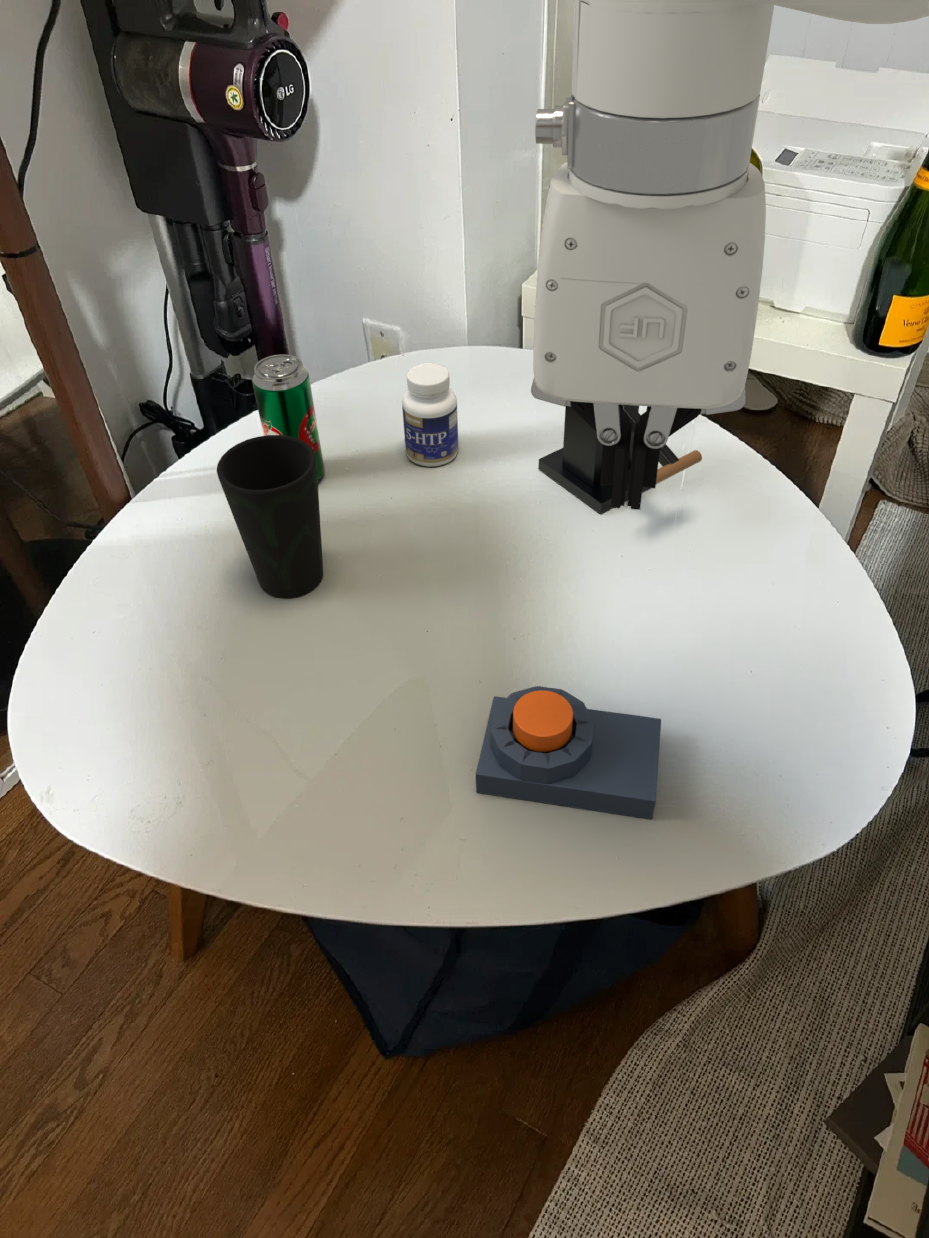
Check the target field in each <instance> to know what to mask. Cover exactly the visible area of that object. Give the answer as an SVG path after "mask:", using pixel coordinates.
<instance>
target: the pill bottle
mask: <svg viewBox="0 0 929 1238" xmlns="http://www.w3.org/2000/svg"><path fill="white" fill-rule="evenodd" d="M406 381H407V390H406V391H405V392H404V394H403V395H402V398H401V405H402V407H401V408H402V420H403V434H404V447H405V455H406V457H407V458H408V459H409V460H410V461H411V462H413V463H414V464H416V465H419V466H422V467H439V466H443V465H446V464H448V463H450V462H452V461H453V460H454V459H456V456H457V455H458V452H459V425H458V424H459V423H458V422H459V421H458V420H459V419H458V400H457V399H458V398H457V395H456V393H455V392H454V390H453V389H452V388H451V385H450V384H451V380H450V372H449V369H448V368H447V367H445V366H444V365H441V364H438V363H433V362H426V363H421V364H417V365H415V366H412V367H411V368H410V369H409V370H408V371H407V374H406Z"/></svg>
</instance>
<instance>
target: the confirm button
mask: <svg viewBox="0 0 929 1238" xmlns="http://www.w3.org/2000/svg"><path fill="white" fill-rule="evenodd" d="M572 723H573V710H572V707H571V705H570V704H569V702H568V701H567V700H566V699H565V698H564V697H562V696H561V695H559V694H557V693H555V692H551V691H544V690H539V691H533V692H530V693H528V694H526V695H524V696H522V697H521V698H520V699H519V700H518V701H517V703H516V704H515V706H514V710H513V732H514V735H515V737H516V739H517V740H518V741H519V742H520V743H521V744H522V745H523V746H524V747H526V748H528V749H530V750H533V751H537V752H550V751H554V750H557V749H559V748H561V747H562V746H564V745H565V744H566V743H567V741H568V740H569V739H570V736H571V733H572Z"/></svg>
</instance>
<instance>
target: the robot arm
mask: <svg viewBox="0 0 929 1238" xmlns="http://www.w3.org/2000/svg"><path fill="white" fill-rule="evenodd" d="M775 6H776V7H781V8H786V9H790V10H795V11H798V12H803V13H806V14H812V15H815V16H816V15H817V16H821V17H823V18H829V19H834V20H837V21H844V22H850V23H858V24H865V25H892V24H898V23H899V24H900V23H906V22H911V21H916V20H919V19H923V18H926V17H929V0H573V34H572V36H573V38H572V67H571V68H572V71H571V95H570V97H565V100H564V103H563V105H562V104H561V105H560V104H559V105H556V104H555V106H554V108H538V109H537V110H536V115H535V129H534V131H535V133H534V134H535V135H534V137H535V144H536V145H537V144H538V145H541V144H542V145H546V144H547V145H552V148H553V149H555V148H557V149H561V156H567V158H566V159H567V160H566V161H565V162H564V163H563V164H562V165H560V166H559V167H558V168H557V170H556V171H555V174H554V175H553V176H552V178H551V180H550V185H549V187H548V192H547V197H546V202H545V206H544V207H545V208H544V213H543V219H542V223H541V224H542V226H541V230H540V231H541V233H540V242H539V250H538V261H537V272H536V273H537V274H536V284H535V285H536V286H535V305H534V324H533V325H534V326H533V343H532V344H533V346H532V347H533V349H532V350H533V351H532V353H533V354H532V357H533V361H532V366H533V367H532V368H533V369H532V370H533V379H532V383H531V386H530V394H531V395H532V397H533V398H534V399H536V400H538V401H543V402H546V403H550V404H554V405H557V406H561V407H564V408H565V406H570V407H572V409H573V410H574V411H575V412H576V413H577V414H578V415H579V416H580V417H581V418H582V419H583V420H584V421H585V422H586V423H588V424H589V425H590V426H591V427H592V428H593V429H594V430H595V431H596V432H597V438H598V440H599V442H600V443H602V444H603V451H602V466H601V481H600V485H613V488H612V501H611V509H621V507H625V503H626V501H625V494H626V485H627V476H628V465H629V454H630V443H631V432H632V422H629V415H628V414H627V413H626V412H625V411H624V405H635V406H639V407H646V409H645V410H646V411H644V412H643V413H642V414H640V420H639V422H635V432H634V441H633V451H632V461H631V472H630V482H629V493H628V500H627V504H626V506H627V507H630V510H638V511H639V510H641V504H642V494H643V492H642V488H650V489H656V487H657V484H656V479H657V470H658V469H659V453H660V448H661V447H663V446H664V445H665V444H666V445H667V443H668V440H669V438H670V437H671V436H672V435H673V434H675V433H676V432H678V431H680V430H681V429H683V427H685V426H686V425H688V424H689V423H691V422H692V421H694V420H695V419H697V418H698V417H699V416H700V415H705V416H708V415H715V414H716V415H717V414H724V413H729V412H736V411H739V410H742V409H743V408H744V406H745V405H746V401H747V400H746V398H747V397H746V382H747V378H748V373H749V368H750V363H751V359H752V352H753V345H754V339H755V333H756V332H755V331H756V324H757V318H758V317H757V316H758V311H759V310H758V309H759V302H760V294H761V293H760V292H761V284H762V278H763V277H762V275H763V268H764V258H765V257H764V256H765V242H766V215H767V205H766V203H767V202H766V200H767V199H766V185H765V180H764V178H763V176H762V173H761V171H760V169H759V168H757V166H755V165H754V164H752V163H751V155H752V149H753V144H754V143H753V142H754V136H755V129H756V123H757V117H758V111H759V105H760V99H761V90H762V86H763V80H764V72H765V65H766V60H767V54H768V48H769V47H768V46H769V41H770V34H771V29H772V28H771V27H772V23H773V15H774V9H775Z"/></svg>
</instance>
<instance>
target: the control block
mask: <svg viewBox="0 0 929 1238" xmlns="http://www.w3.org/2000/svg"><path fill="white" fill-rule="evenodd" d="M539 690H544V691H551V692H555V693H557V694H559V695H561V696H562V697H564V698H565V699H566V700H567V701H568V702H569V704H570V705H571V707H572V710H573V723H572V733H571V736H570V739H569V740H568V741H567V743H566V744H565V745H564V746H562V747H561V748H559V749H557V750H554V751H550V752H537V751H533V750H530V749H528V748H526V747H524V746H523V745H522V744H521V743H520V742H519V741H518V740H517V739H516V737H515V735H514V732H513V710H514V706H515V704H516V703H517V701H518V700H519V699H520V698H521V697H522V696H524V695H526V694H528V693H530V692H533V691H539ZM661 732H662V718H659V717H652V716H651V717H650V716H643V715H638V714H637V715H636V714H629V713H621V712H614V711H607V710H599V709H592V708H588V707H587V706H586V704H585V703H584V701H582V700H580V699H579V698H577V697H576V696H574V695H572V694H571V693H569V692H568V691H566V690H564V689H561V688H557V687H556V688H555V687H547V686H539V685H537V686H536V685H535V686H532V687H528V688H523V689H521V690H518V691H514V692H512V693H510V694H508V696H507V697H503V696H497V695H494V696H493V698H492V703H491V707H490V711H489V715H488V720H487V724H486V727H485V732H484V735H483V736H484V737H483V741H482V746H481V750H480V753H479V759H478V761H477V766H476V771H475V791H476V793H478V794H483V795H484V794H485V795H491V796H496V797H497V796H498V797H504V798H511V799H516V800H523V801H530V802H536V803H543V804H548V805H555V806H562V807H569V808H575V809H581V810H588V811H595V812H601V813H608V814H614V815H621V816H627V817H633V818H641V819H646V820H652V819H653V817H654V812H655V806H656V803H657V789H658V775H659V761H660V760H659V759H660V746H661V745H660V744H661Z"/></svg>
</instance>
